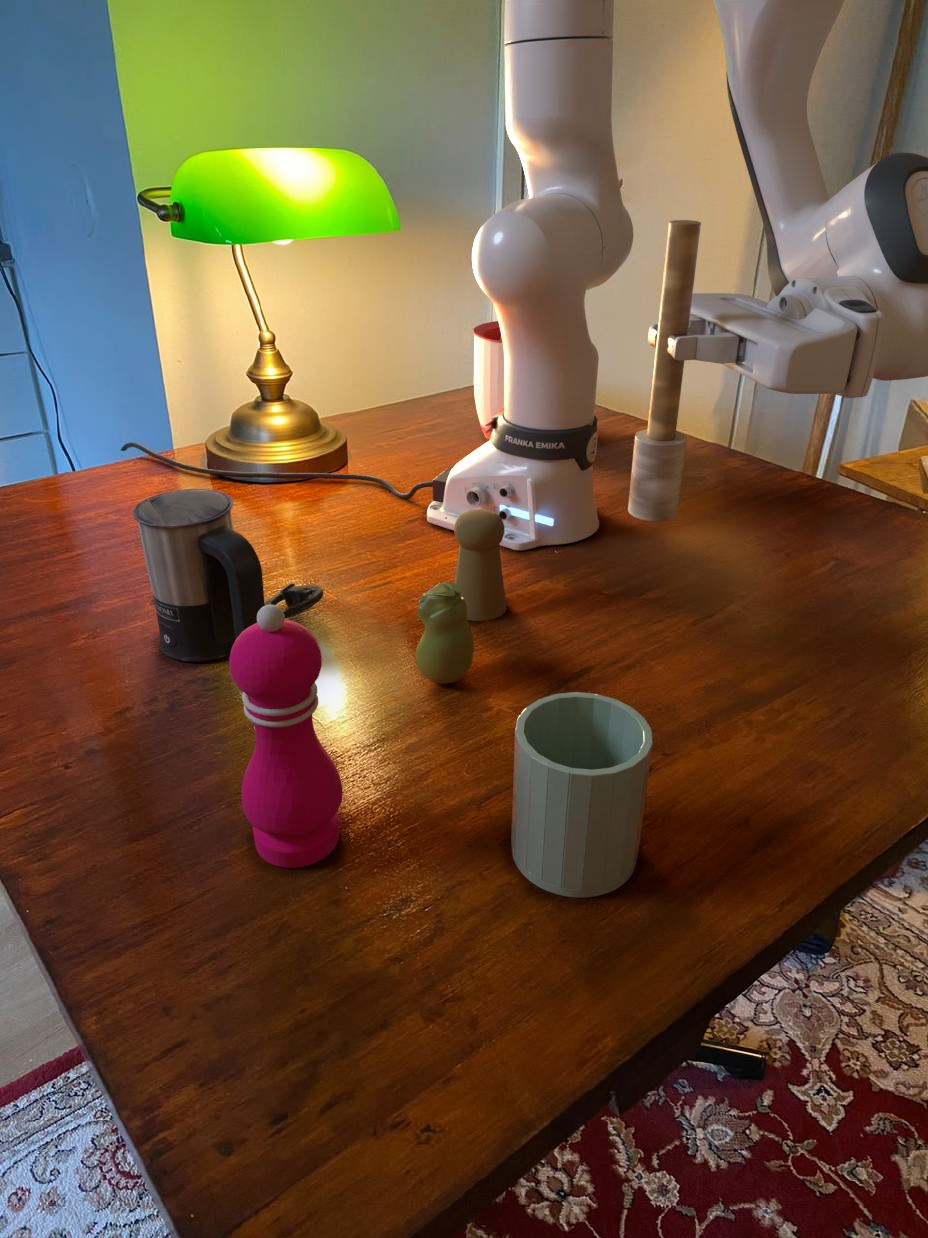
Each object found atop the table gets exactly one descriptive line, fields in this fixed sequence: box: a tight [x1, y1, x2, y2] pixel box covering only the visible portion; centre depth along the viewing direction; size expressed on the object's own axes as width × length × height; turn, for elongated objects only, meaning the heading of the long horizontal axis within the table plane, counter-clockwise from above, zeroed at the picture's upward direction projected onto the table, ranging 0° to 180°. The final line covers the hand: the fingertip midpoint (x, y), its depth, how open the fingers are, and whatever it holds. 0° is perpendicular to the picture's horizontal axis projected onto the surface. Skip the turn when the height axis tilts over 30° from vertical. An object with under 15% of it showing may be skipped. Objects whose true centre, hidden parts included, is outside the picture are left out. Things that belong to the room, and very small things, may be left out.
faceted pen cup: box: [510, 691, 654, 899], centre depth 64 cm, size 9×9×11 cm
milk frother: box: [132, 488, 324, 663], centre depth 91 cm, size 14×16×15 cm
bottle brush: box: [627, 219, 702, 523], centre depth 75 cm, size 4×4×24 cm
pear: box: [414, 582, 475, 685], centre depth 84 cm, size 6×5×10 cm
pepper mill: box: [228, 605, 344, 869], centre depth 63 cm, size 7×7×20 cm
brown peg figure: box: [453, 509, 507, 622], centre depth 96 cm, size 6×6×11 cm
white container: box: [472, 320, 505, 441], centre depth 143 cm, size 16×17×20 cm
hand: (661, 342), depth 74 cm, fingers closed on bottle brush, 2 cm apart
